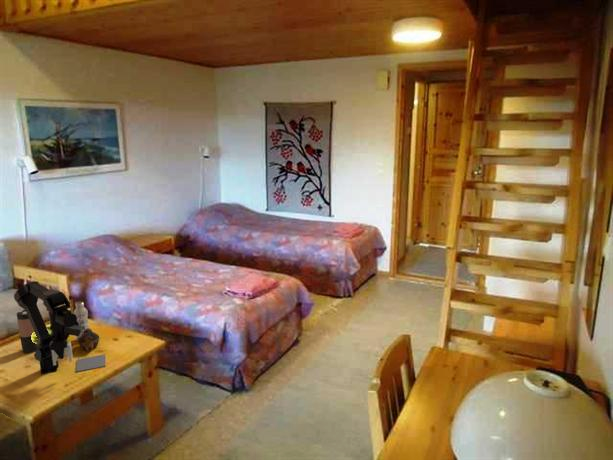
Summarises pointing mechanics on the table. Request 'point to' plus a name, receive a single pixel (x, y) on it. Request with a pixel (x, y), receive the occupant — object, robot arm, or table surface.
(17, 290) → the robot arm
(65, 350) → the notched white block
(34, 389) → the table surface
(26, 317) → the travel mug
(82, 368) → the mat
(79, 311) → the plastic bottle
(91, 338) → the painted clay ocarina
